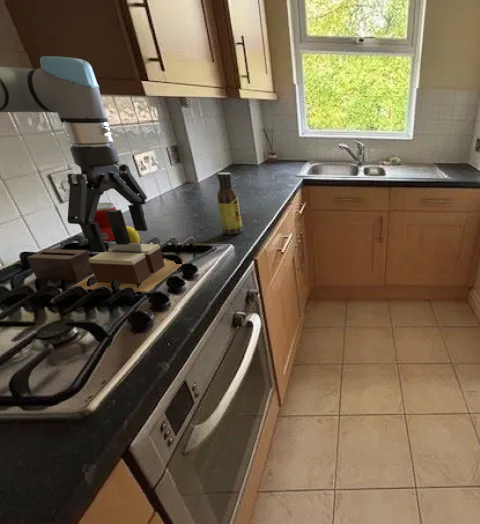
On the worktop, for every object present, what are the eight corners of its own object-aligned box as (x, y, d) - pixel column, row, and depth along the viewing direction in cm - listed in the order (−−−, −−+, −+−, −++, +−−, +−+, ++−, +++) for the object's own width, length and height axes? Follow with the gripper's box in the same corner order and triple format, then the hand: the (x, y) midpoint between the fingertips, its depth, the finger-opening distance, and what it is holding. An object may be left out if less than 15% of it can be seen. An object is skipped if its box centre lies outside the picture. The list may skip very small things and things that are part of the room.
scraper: (115, 274, 81) (94, 210, 74) (120, 271, 82) (99, 208, 75) (146, 275, 80) (127, 212, 74) (150, 272, 82) (132, 210, 75)
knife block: (39, 284, 78) (26, 257, 75) (57, 274, 83) (47, 248, 80) (80, 286, 78) (69, 259, 75) (96, 276, 83) (87, 250, 80)
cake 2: (115, 271, 82) (107, 249, 79) (127, 264, 86) (120, 242, 83) (154, 273, 82) (148, 251, 79) (165, 265, 86) (159, 244, 83)
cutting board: (71, 293, 75) (69, 288, 74) (122, 263, 89) (120, 258, 89) (149, 297, 74) (147, 291, 74) (187, 266, 89) (186, 261, 88)
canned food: (129, 238, 106) (119, 204, 101) (100, 246, 99) (88, 210, 95) (117, 233, 109) (106, 201, 104) (88, 241, 103) (76, 206, 98)
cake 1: (96, 282, 77) (88, 259, 74) (110, 274, 81) (103, 251, 78) (138, 284, 76) (131, 261, 74) (150, 275, 80) (144, 253, 78)
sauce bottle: (242, 234, 111) (233, 174, 103) (222, 236, 110) (212, 175, 101) (242, 228, 117) (234, 171, 108) (223, 230, 115) (213, 171, 107)
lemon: (115, 254, 95) (106, 227, 91) (132, 246, 100) (124, 221, 96) (131, 256, 94) (123, 229, 90) (147, 249, 98) (140, 223, 95)
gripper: (55, 152, 57) (95, 263, 66) (149, 140, 80) (169, 223, 89) (13, 151, 57) (59, 261, 66) (118, 138, 80) (142, 222, 89)
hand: (122, 240), depth 77 cm, fingers open, 13 cm apart
